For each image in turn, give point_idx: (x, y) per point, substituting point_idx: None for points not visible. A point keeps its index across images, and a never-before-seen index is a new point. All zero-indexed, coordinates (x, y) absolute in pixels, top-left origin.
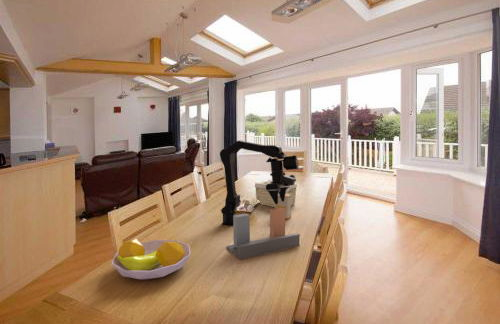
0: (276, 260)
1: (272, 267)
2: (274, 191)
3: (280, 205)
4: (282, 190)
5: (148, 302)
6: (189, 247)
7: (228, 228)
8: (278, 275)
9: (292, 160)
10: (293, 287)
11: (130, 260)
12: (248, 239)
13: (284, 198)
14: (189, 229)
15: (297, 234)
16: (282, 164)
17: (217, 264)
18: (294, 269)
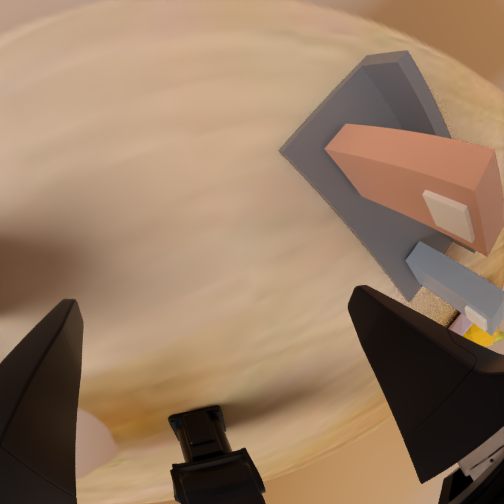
0: (455, 135)
1: (473, 140)
2: (474, 422)
3: None
4: (32, 490)
5: (499, 273)
6: (469, 326)
7: (252, 398)
8: (486, 124)
9: None
10: (499, 96)
11: (499, 333)
12: (437, 253)
13: (49, 324)
14: (291, 441)
15: (412, 60)
16: None
17: (461, 261)
18: (472, 88)
